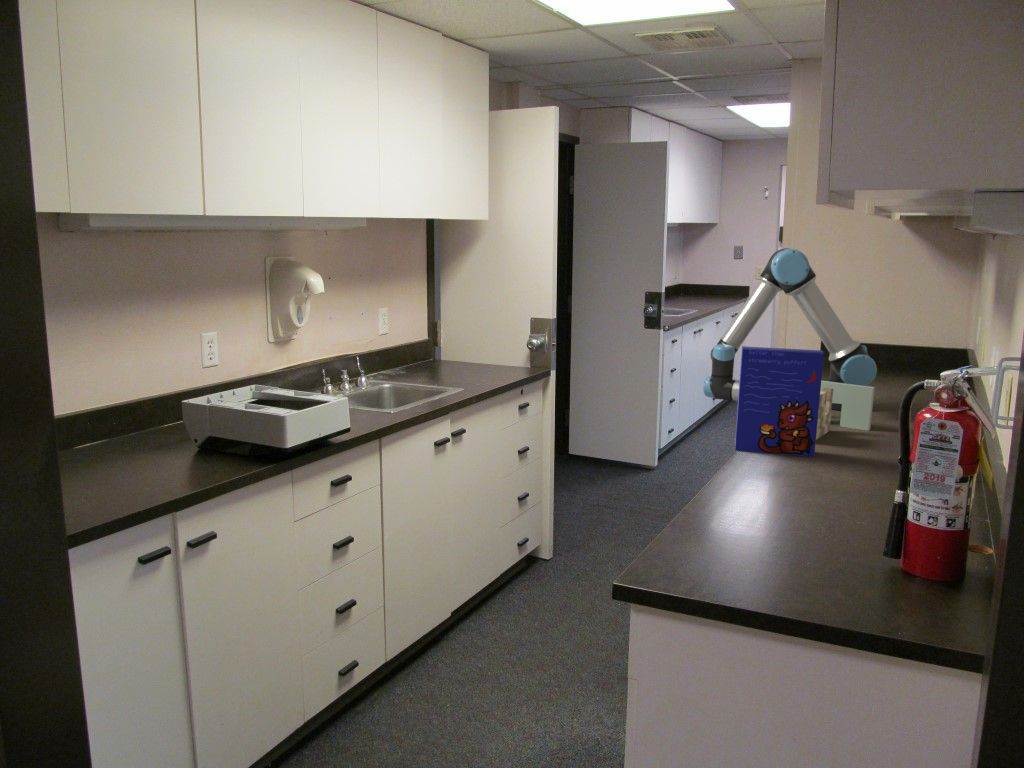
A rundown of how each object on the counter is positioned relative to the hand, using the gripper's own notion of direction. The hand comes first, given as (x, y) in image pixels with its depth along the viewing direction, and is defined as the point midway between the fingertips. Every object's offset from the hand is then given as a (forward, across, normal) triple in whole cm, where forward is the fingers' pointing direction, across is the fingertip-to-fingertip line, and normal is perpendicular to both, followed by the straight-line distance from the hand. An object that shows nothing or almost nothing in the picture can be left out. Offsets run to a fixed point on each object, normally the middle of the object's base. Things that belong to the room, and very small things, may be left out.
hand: (809, 400), depth 276 cm
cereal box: (+4, +45, -7) cm, 46 cm away
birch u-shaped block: (+9, +20, -7) cm, 23 cm away
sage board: (+9, 0, -7) cm, 11 cm away
